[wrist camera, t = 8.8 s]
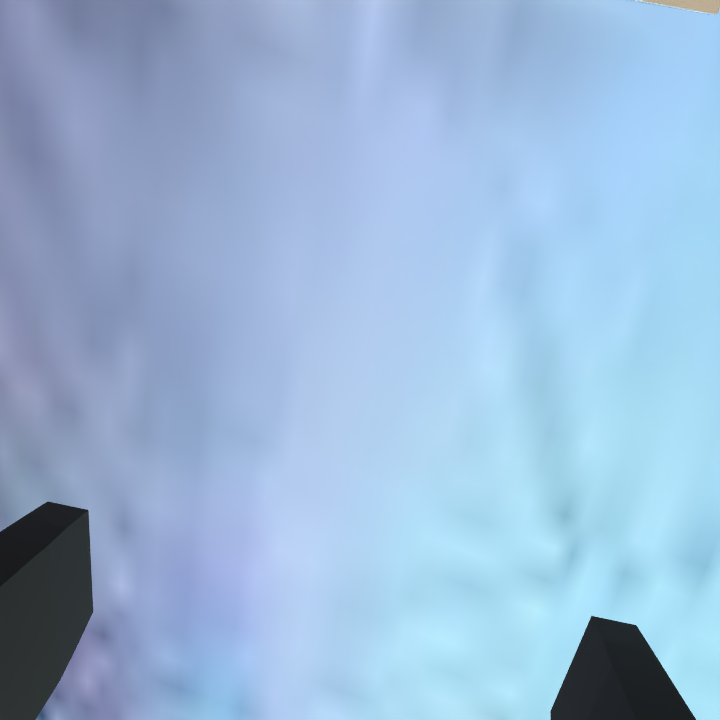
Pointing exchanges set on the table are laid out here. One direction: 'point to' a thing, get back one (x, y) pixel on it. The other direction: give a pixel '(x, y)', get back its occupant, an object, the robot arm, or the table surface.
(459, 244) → the table surface
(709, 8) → the cream square socket base
